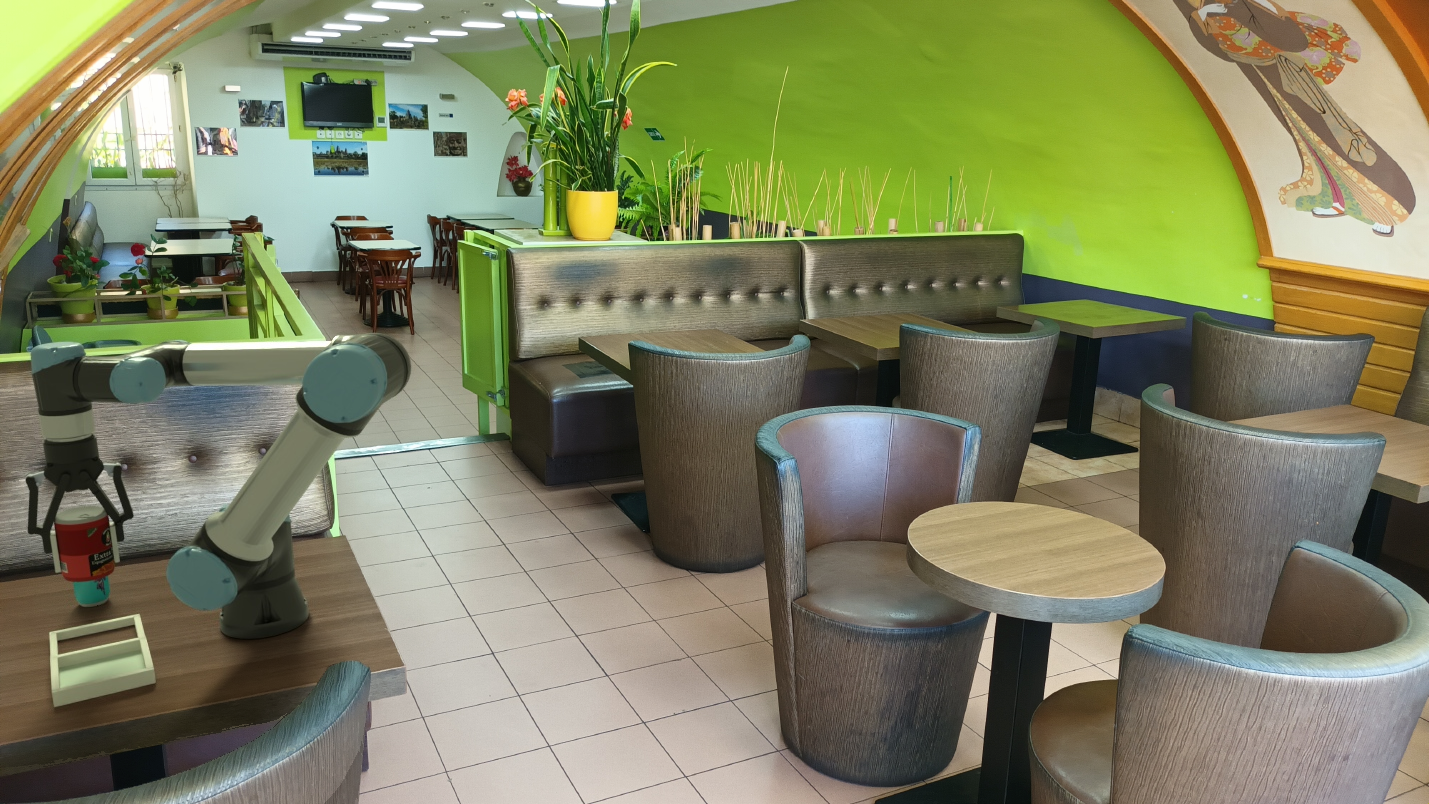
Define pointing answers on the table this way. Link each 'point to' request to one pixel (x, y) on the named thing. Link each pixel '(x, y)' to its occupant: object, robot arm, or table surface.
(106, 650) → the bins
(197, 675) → the table surface
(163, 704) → the table surface
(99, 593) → the beverage can
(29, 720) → the table surface
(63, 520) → the canned food
